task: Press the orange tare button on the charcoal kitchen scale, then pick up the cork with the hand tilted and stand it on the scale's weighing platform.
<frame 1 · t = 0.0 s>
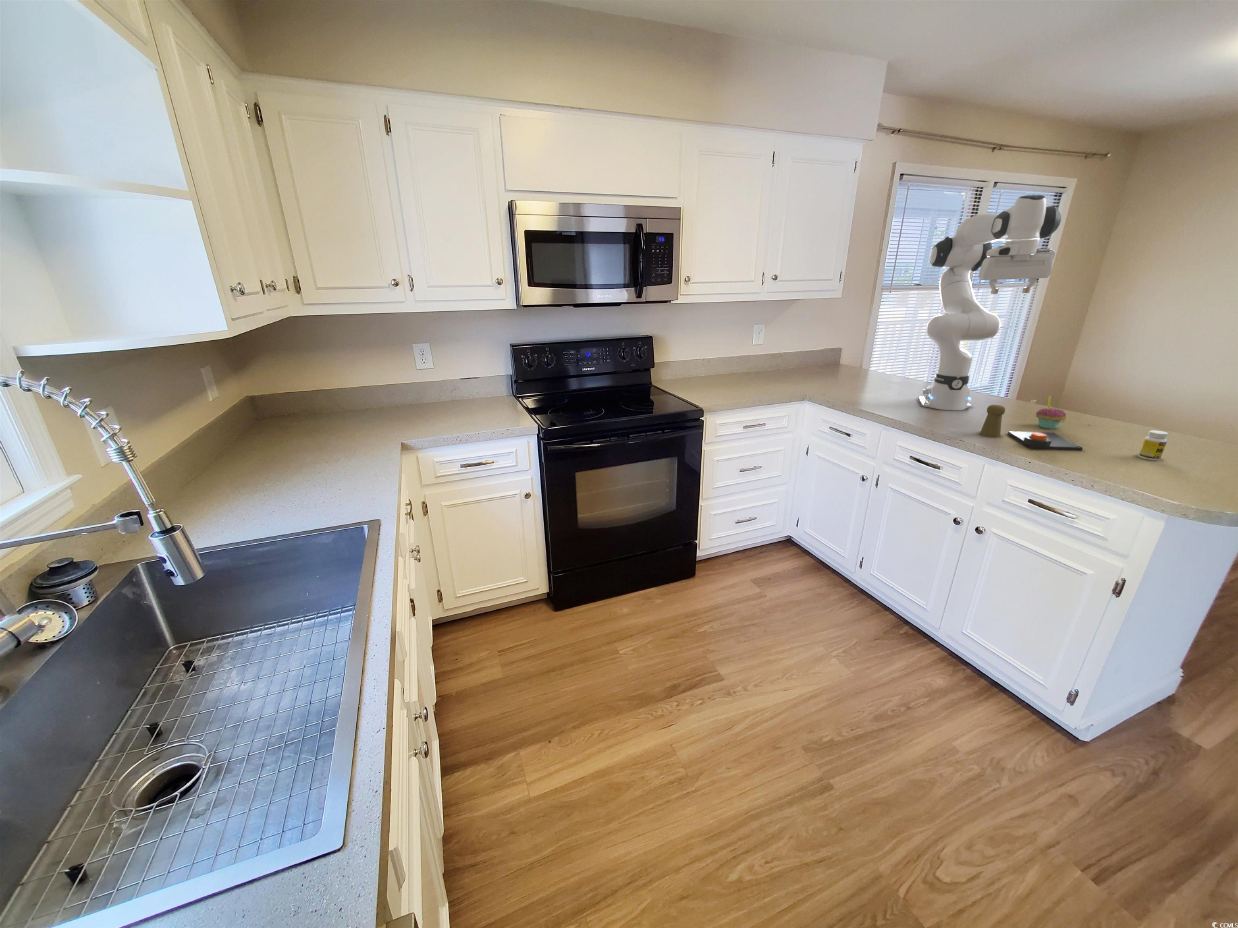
hand: (1009, 293, 169), 48 cm above the counter, tool pointing down, fingers open, 8 cm apart
tare button: (1038, 436, 163), point 4 cm above the counter, slide at 0.2 cm
cupcake: (1047, 427, 183), on the counter
supplement bottle: (1148, 458, 152), on the counter
scale: (1042, 442, 168), on the counter
cork: (989, 435, 178), on the counter
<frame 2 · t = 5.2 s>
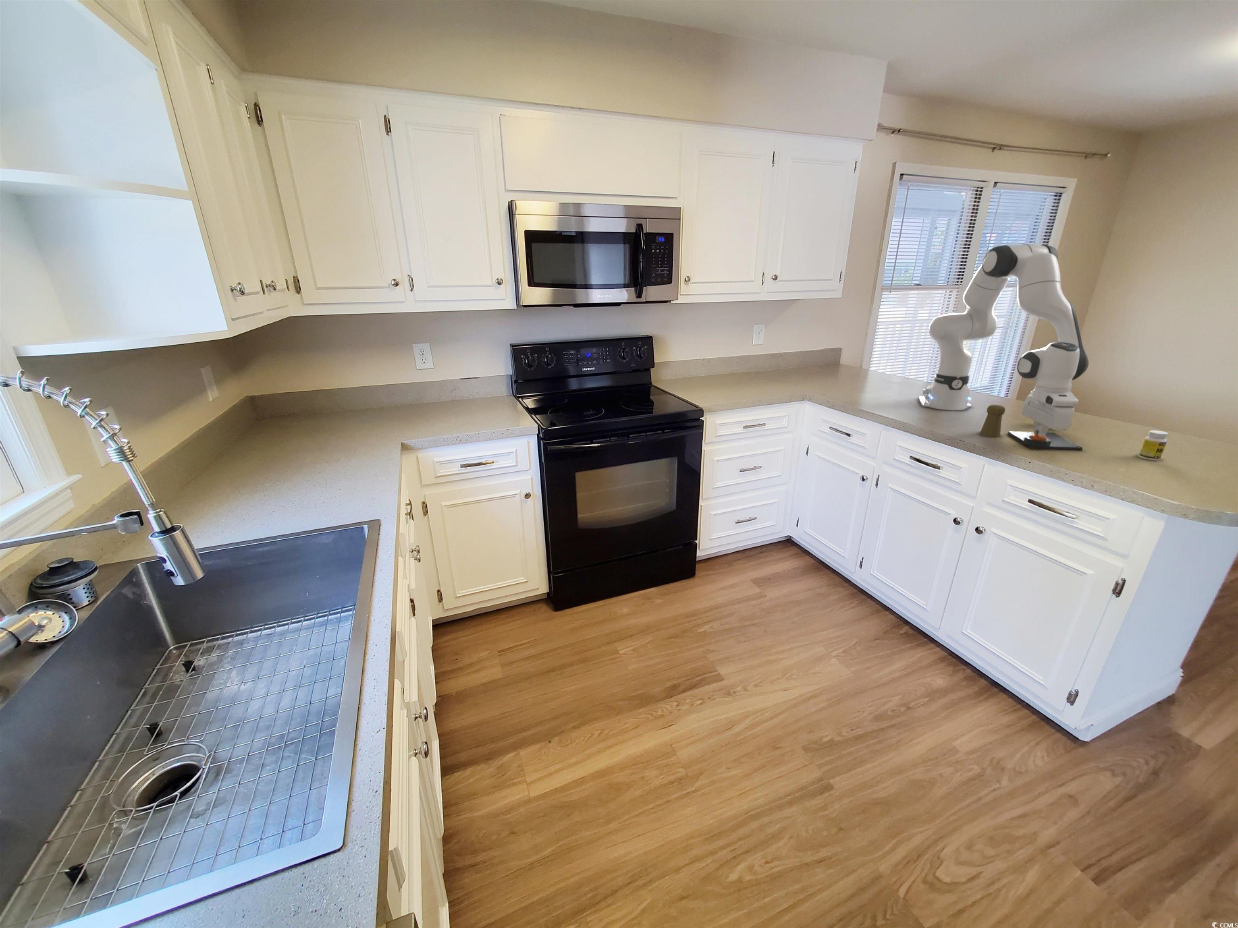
hand: (1039, 435, 163), 4 cm above the counter, tool pointing down, fingers closed, pressing on tare button
tare button: (1038, 438, 164), point 3 cm above the counter, slide at -0.4 cm, touching gripper
everything else where it was.
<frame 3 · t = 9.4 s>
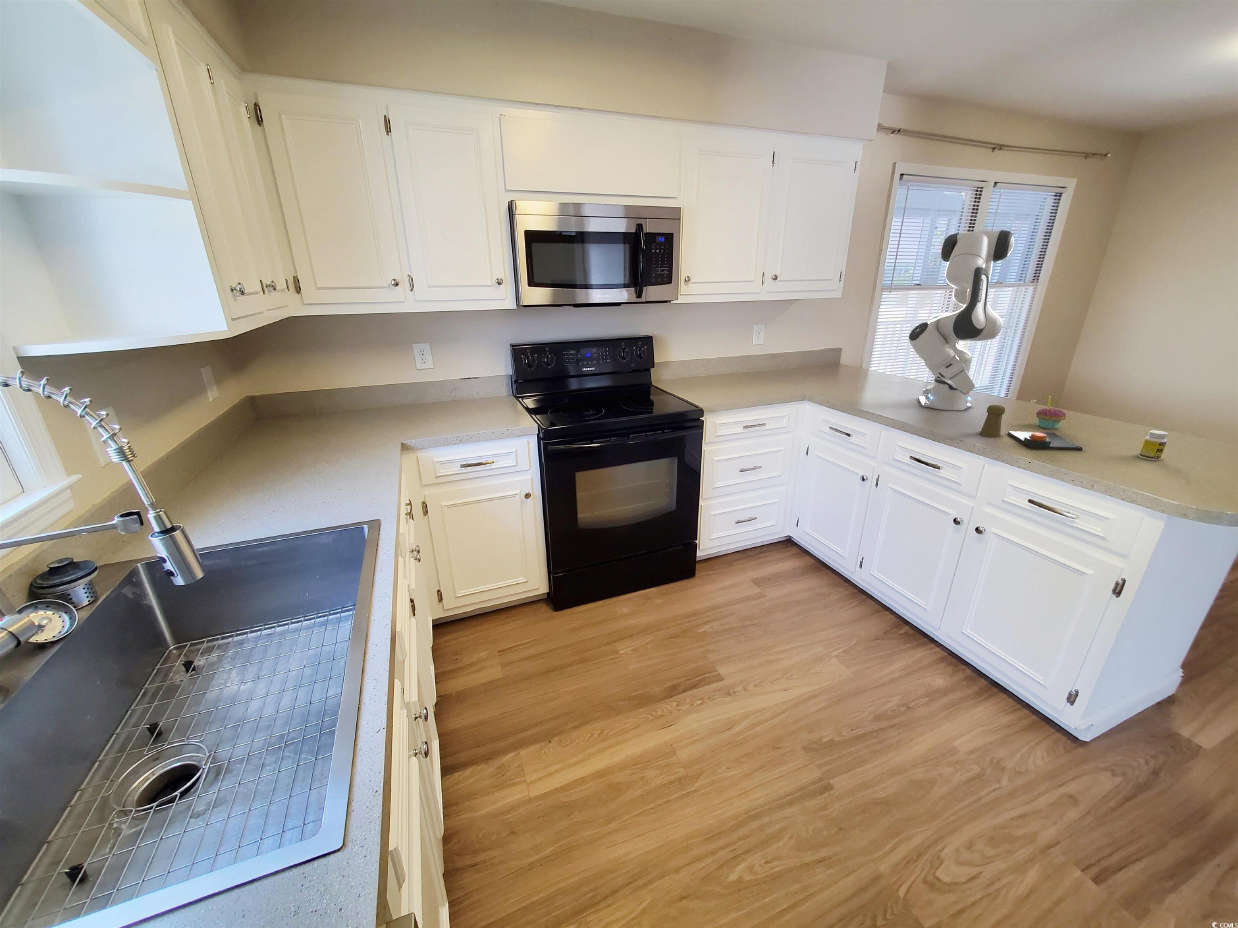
hand: (965, 393, 174), 15 cm above the counter, tool tilted 40°, fingers closed
tare button: (1038, 436, 163), point 4 cm above the counter, slide at 0.1 cm
everything else where it was.
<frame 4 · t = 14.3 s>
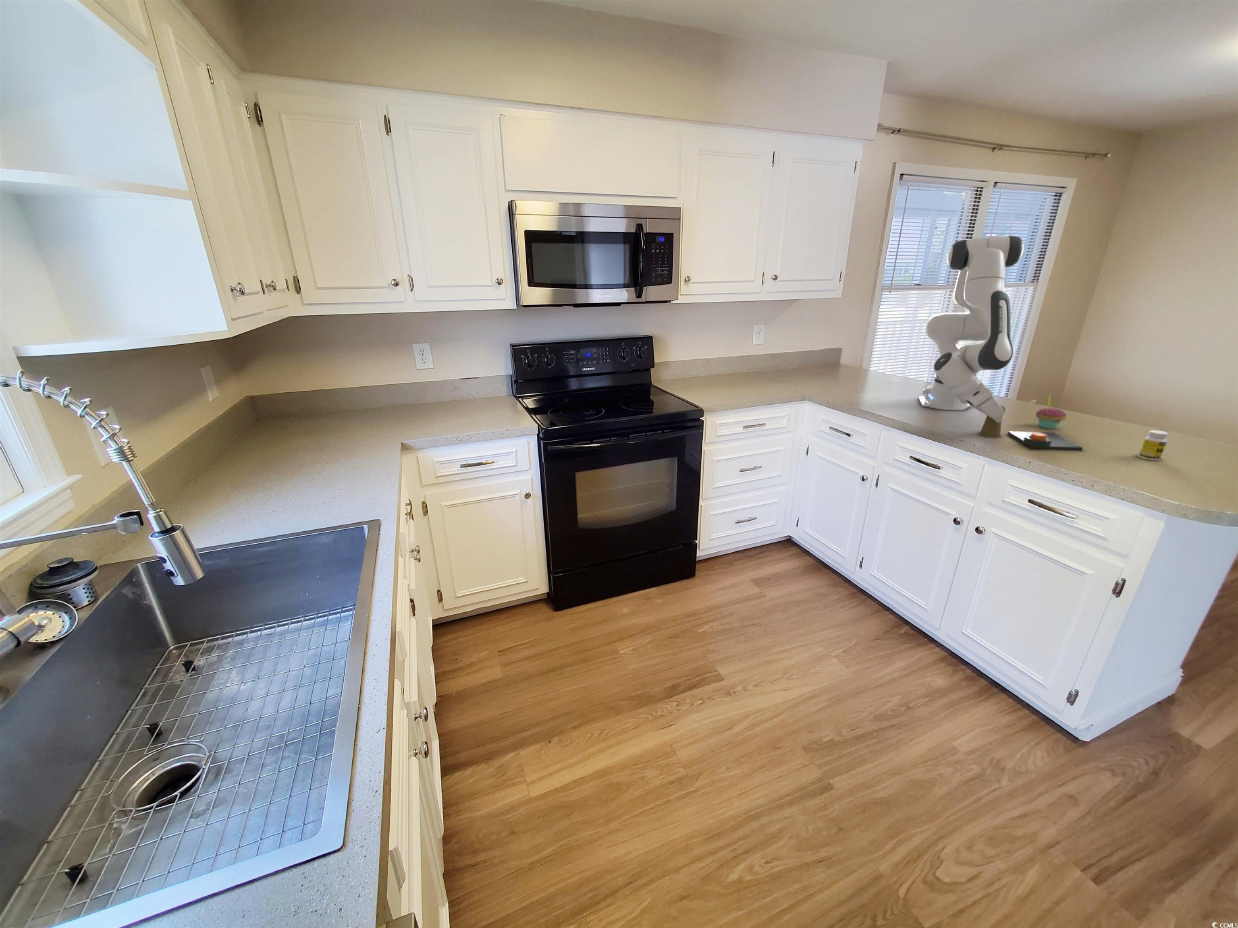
hand: (995, 419, 175), 6 cm above the counter, tool tilted 45°, fingers closed on cork, 4 cm apart
cork: (989, 435, 178), on the counter, touching gripper
everything else where it was.
when the fingers open (7 cm above the counter, at t = 22.9 s): cork stays where it is, resting on scale.
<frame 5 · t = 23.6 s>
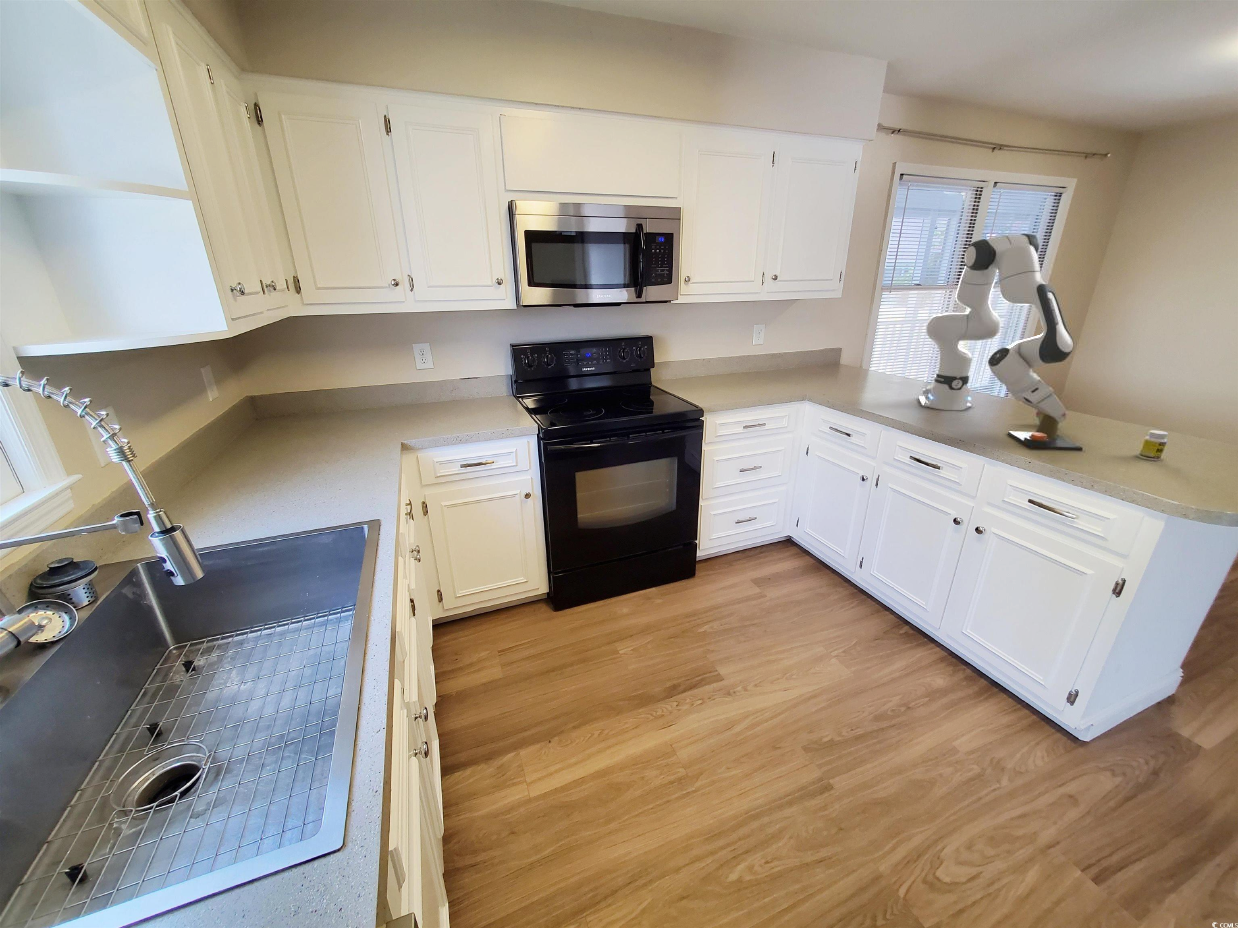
hand: (1052, 417, 168), 8 cm above the counter, tool tilted 45°, fingers open, 8 cm apart
cork: (1045, 437, 170), point 1 cm above the counter, touching scale
everything else where it was.
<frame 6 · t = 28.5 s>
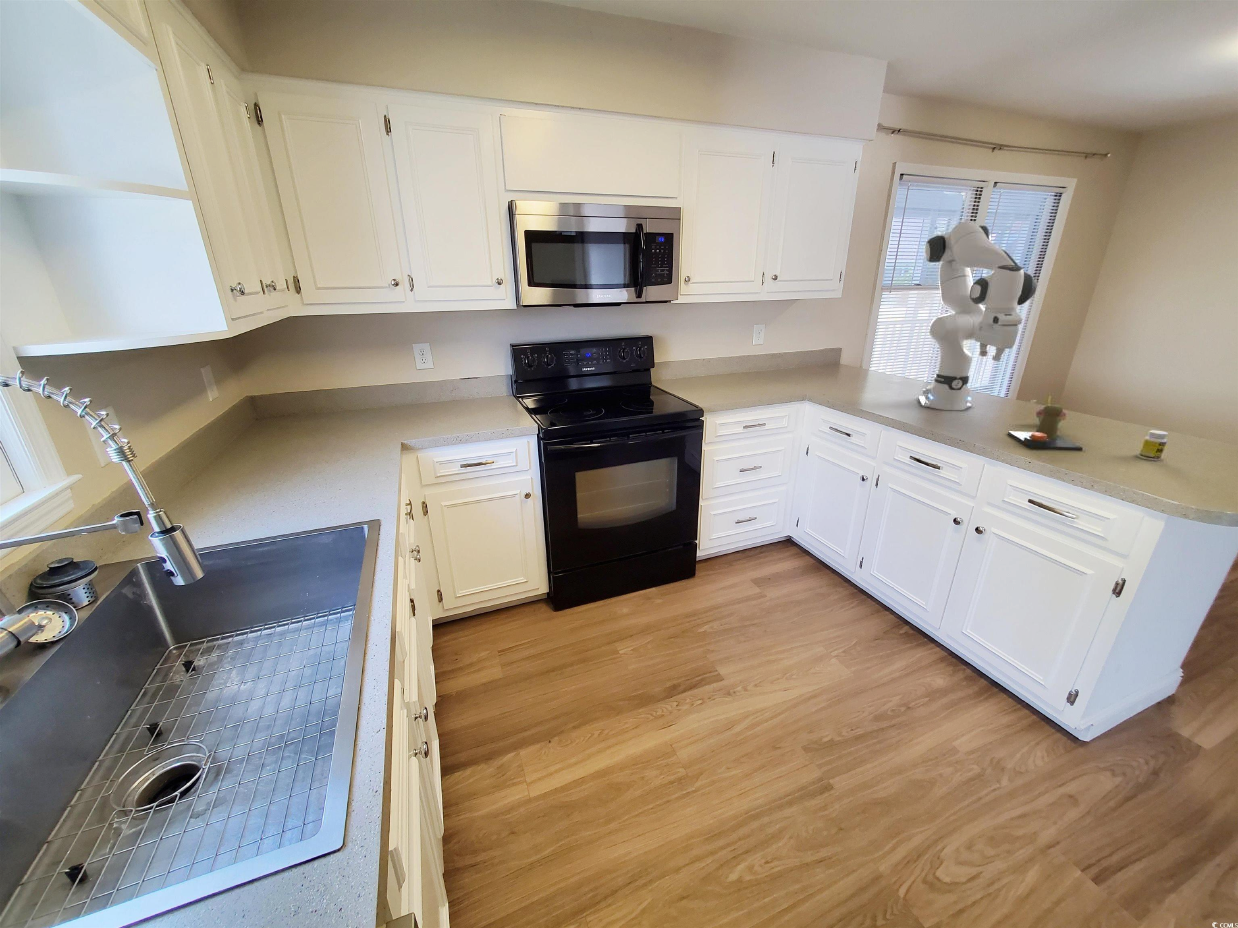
hand: (989, 358, 170), 27 cm above the counter, tool pointing down, fingers open, 8 cm apart
nothing on the counter moved.
at the end: tare button pushed in 1.0 cm at the most during the clip, back to where it started at the end; cork inside the target area on the scale (3.6 cm from its centre), point 1.0 cm above the scale's base; cork touching scale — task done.
